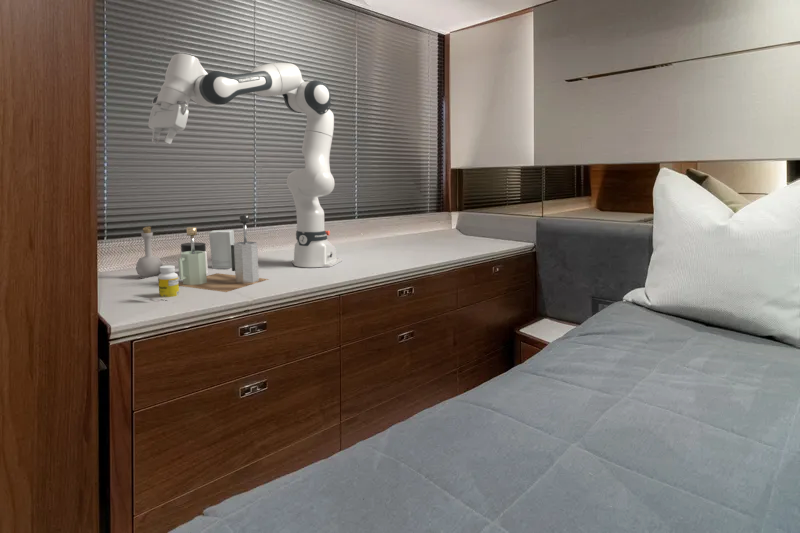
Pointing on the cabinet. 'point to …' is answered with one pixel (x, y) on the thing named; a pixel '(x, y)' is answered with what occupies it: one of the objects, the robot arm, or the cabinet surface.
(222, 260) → the skincare box
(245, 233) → the steel plunger
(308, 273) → the cabinet surface
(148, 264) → the potion bottle
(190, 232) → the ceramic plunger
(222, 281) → the serving board
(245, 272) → the steel press
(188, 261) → the pale green octagonal mug
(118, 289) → the cabinet surface
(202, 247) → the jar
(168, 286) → the supplement bottle
